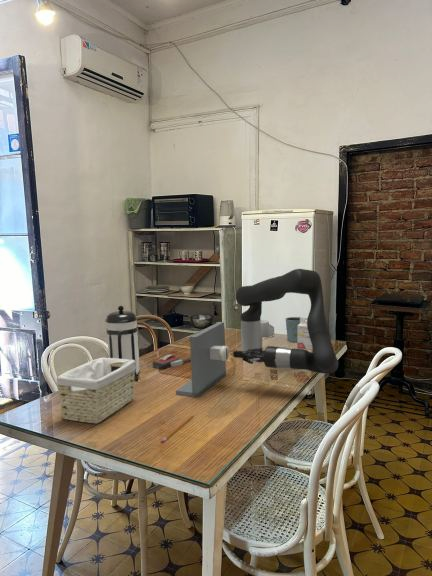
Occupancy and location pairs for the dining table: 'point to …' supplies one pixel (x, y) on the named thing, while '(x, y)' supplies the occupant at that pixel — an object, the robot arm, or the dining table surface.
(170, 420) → the dining table surface
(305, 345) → the ink cartridge box
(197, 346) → the knob panel
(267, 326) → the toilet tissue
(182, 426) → the pencil
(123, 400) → the storage basket
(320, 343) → the robot arm
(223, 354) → the knob
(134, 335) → the coffee press
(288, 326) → the grey-green cup
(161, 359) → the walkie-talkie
